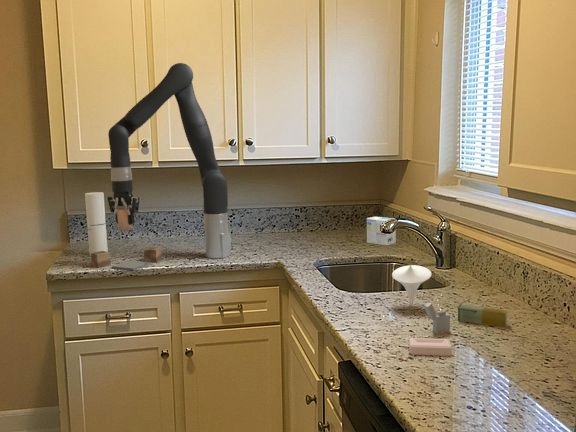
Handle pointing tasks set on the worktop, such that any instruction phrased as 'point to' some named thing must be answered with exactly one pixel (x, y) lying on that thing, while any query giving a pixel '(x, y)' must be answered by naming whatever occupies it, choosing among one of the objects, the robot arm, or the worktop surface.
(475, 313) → the medication box
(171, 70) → the robot arm
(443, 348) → the soap bar
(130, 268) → the coaster
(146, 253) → the block
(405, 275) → the white spinning top
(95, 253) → the block
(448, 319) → the lighter
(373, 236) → the light bulb box
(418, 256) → the worktop surface
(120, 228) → the tan jar
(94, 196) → the cylindrical container
